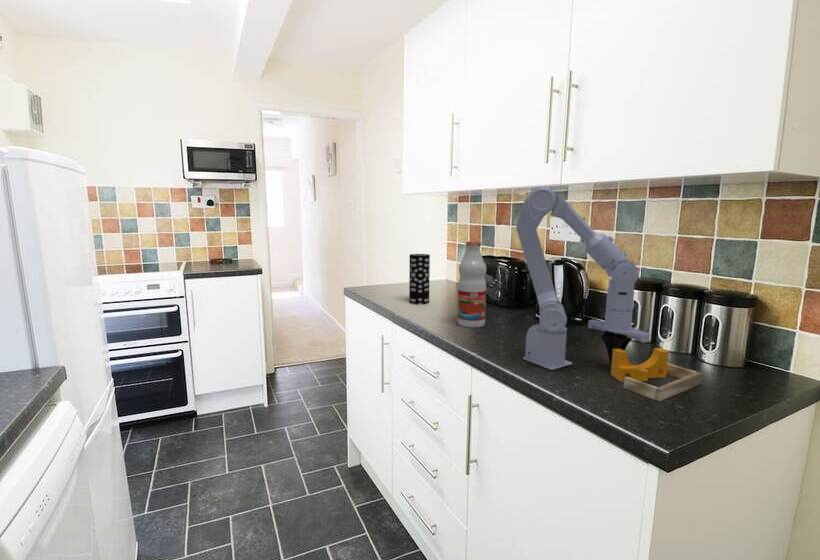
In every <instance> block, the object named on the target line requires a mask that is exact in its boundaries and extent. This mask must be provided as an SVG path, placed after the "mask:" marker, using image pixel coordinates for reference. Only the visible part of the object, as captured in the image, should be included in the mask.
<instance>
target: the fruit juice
mask: <svg viewBox="0 0 820 560" xmlns="http://www.w3.org/2000/svg"><path fill="white" fill-rule="evenodd" d="M481 246H482V243H481V241H466V242H465V248H466V249H465V252H464V254H463V257H462V260H461V261H460V263H459V266H458V273H459V278H458V281H457V282H458V284H457V313H456V315H457V316H456V317H457V318H456V321H457V322H456V323H457V325H459V326H460V327H463V328H481V327H483V326H485V323H486V310H487V309H486V304H487V303H486V302H487V281H486V277H485V276H486V274H487V264H486V263H485V260H484V259H483V255H482V252H481Z"/></svg>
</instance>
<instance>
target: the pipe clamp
mask: <svg viewBox="0 0 820 560" xmlns="http://www.w3.org/2000/svg"><path fill="white" fill-rule="evenodd" d="M669 354H670V352H669V350H667V349H664V348H662V347H655V348H654V347H653V351H652V354H651V356H650V357H649V358H648V359H647V360H646V361H644V362H642V363H640V364H632V363H631V362H630V361H629V358H628V352H627V351H625V350H622V349H613V353H612V364H611V367H610V375H611V376H612V377H614V378H615V379H616V380H618V381H619V382H624V377H629V378H632V379H635V380H638V381H641V382H649V379H650V378H651V379H653V378H655V379H656V378H666V377H667V364H668V363H669Z"/></svg>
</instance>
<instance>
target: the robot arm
mask: <svg viewBox="0 0 820 560" xmlns="http://www.w3.org/2000/svg"><path fill="white" fill-rule="evenodd" d="M550 212H551V213H550ZM549 213H550V216H552V217H555V218H559V219H561V220H563V222H565V223H566V224H567V225H568V226H569V227H570V229H572V230H573V231H574V233H575V234H577V236H579V238H581V239H582V240H583V241H584V251H585V252H586V253H587V254H588V255H589V256H590V258H592V260H594V262H596V264H597V265H599V267H600V268H601V269H602V270H604V271H605V272H606V274H607V277H609V278H608V288H607V291H606V304H605V305H606V306H605V316H604V317H605V318H604V321H602V320H596V319H590V320H588V323H587V325H588V326H587V328H588V329H595V330H598V331H601V332H604V333H603V334H601V339H602V341H603V343H604V346H605V348H606V351H607V356H608V361H609V364H611V365H612V353H613V349H622V350H624V351H625V350H626V348H627V347H628V345H630V343H631V341H632V340H636V341H639V342H641V343H644V344H645V343H648V342H650V336H651V333H649V332H646V331H643V330H640V329H637V328H635V327H632V319H633V318H632V317H633V308H634V299H635V297H634V296H635V283H636V282H637V280H638V278H639V276H640V273H639V271H638V267H637V265H636V264H635V263H634V262H633V261H631V260H630V259H628V258H627V257H628V256H629V254H627V253H626V252H625V251H624V252H622V251H621V249H620V248H619V247H618V246H617V245H616V244H615V243H614V241H615V239H614V238H613V237H612V236H610V235H609V236H607V235H606V234H605V233H596V232H595V231H594V229H593V228H592V227H591V226H590V225H589V224H588V222H586V221H585V220H584V218H582V217H583V216H581V215H580V214H579V213H578V212H577V211H576V210H575V209H574V207H573V206H572V205H571V204H570V203H568V201H566V200H565V199H564V198H562V197H561V196H560V195H559V194H557V195H556V193H555V191H554V190H553V189H551V188H550V187H548V186H538V187H536V188H534V189H532V191H531V192H530V193H529V194H528V195H527V197H526V198H525V200H524V201H523V205H522V207H521V210H520V214H519V216H518V220H517V222H516V226H515V227H516V231H517V235H518V239H519V242H520V246H521V248H522V253H523V255H524V259H525V261H526V265H527V267H528V271H529V275H530V279H531V280H532V281H531V282H532V286H533V288H534V291H535V294H536V298H537V302H538V307H539V309H538V313H539V318H538V319H539V323H538V324H534V325H532V326H530V327H529V328H528V330H527V332H526V337H525V353H524V354H525V355H524V356H523V357H522V359H523V360H525V361H527V362H529V363H532V364H534V365H538V366H540V367H541V368H545V369H547V370H550V371H553V370H557V369H560V368H563V367H567V366H571V365H573V362H572V361H569V360H567V359H566V349H567V347H566V345H567V333H568V332H567V331H568V328H567V327H566V325H567V322H568V318H567V314H566V312H565V307H564V306H563V304H562V302H560V301H559V299H558V298H557V293H556V290H555V287H554V283H553V281H552V277H551V273H550V270H549V268H548V264H547V261H546V257H545V255H544V251H543V248H542V243H541V241H540V237H539V235H538V230H537V229H538V227H539V226H540V224H541V222H542V221H543V219H544V217H545V216H547V215H548V214H549Z"/></svg>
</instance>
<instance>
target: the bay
mask: <svg viewBox="0 0 820 560" xmlns="http://www.w3.org/2000/svg"><path fill="white" fill-rule="evenodd" d="M667 375H668V376H671V377H674V378H677V379H676V380H673V381H671V382H668V383H666V384H663V385H661V386H658V387H657V386H655V385H653V384H649V383H647V382H645V381H638V380H635V379H632V378H629V377H624V381H623V389H625V390H627V391H630V392H633V393H636V394H638V395H641V396H644V397H647V398H649V399H652V400H654V401H657V402H662V401H664V400H666V399H669V398H671V397H674V396H676V395H678V394H680V393H683V392H686V391H689V390H691V389H693V388H694V387H697V386H699V385H701V384H702V379H703V378H702V377H703V372H699V371H696V370H692V369H690V368H685V367H682V366H679V365H676V364H672V363H670V362H668V364H667V374H666V376H667Z"/></svg>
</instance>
